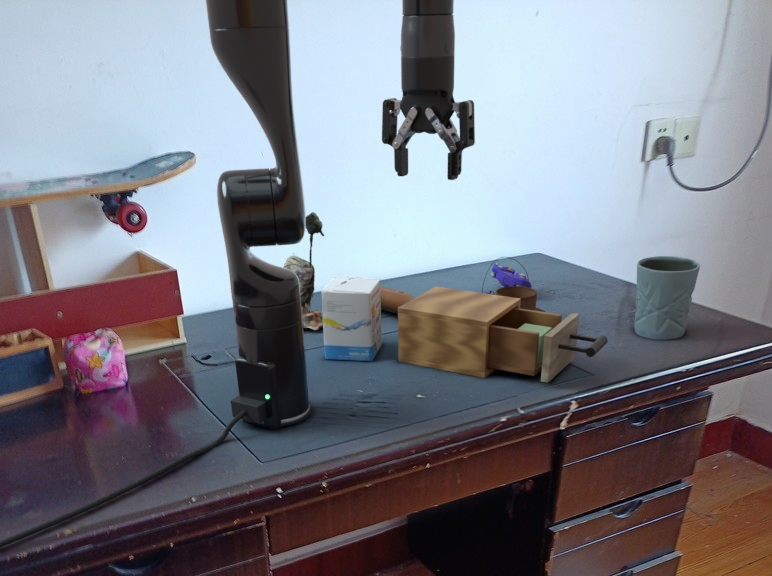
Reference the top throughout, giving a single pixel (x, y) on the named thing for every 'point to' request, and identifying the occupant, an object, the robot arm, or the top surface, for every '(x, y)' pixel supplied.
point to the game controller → (508, 276)
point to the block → (542, 332)
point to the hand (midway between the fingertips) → (427, 177)
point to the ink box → (352, 318)
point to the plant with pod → (307, 276)
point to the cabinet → (450, 329)
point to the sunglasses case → (393, 299)
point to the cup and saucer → (521, 296)
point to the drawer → (536, 343)
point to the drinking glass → (664, 296)
